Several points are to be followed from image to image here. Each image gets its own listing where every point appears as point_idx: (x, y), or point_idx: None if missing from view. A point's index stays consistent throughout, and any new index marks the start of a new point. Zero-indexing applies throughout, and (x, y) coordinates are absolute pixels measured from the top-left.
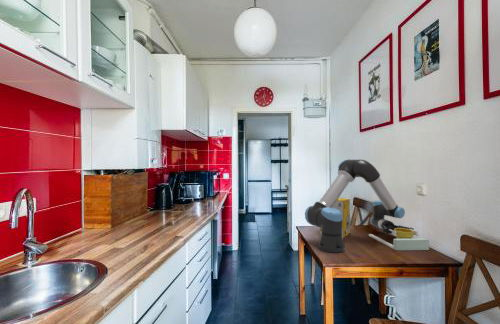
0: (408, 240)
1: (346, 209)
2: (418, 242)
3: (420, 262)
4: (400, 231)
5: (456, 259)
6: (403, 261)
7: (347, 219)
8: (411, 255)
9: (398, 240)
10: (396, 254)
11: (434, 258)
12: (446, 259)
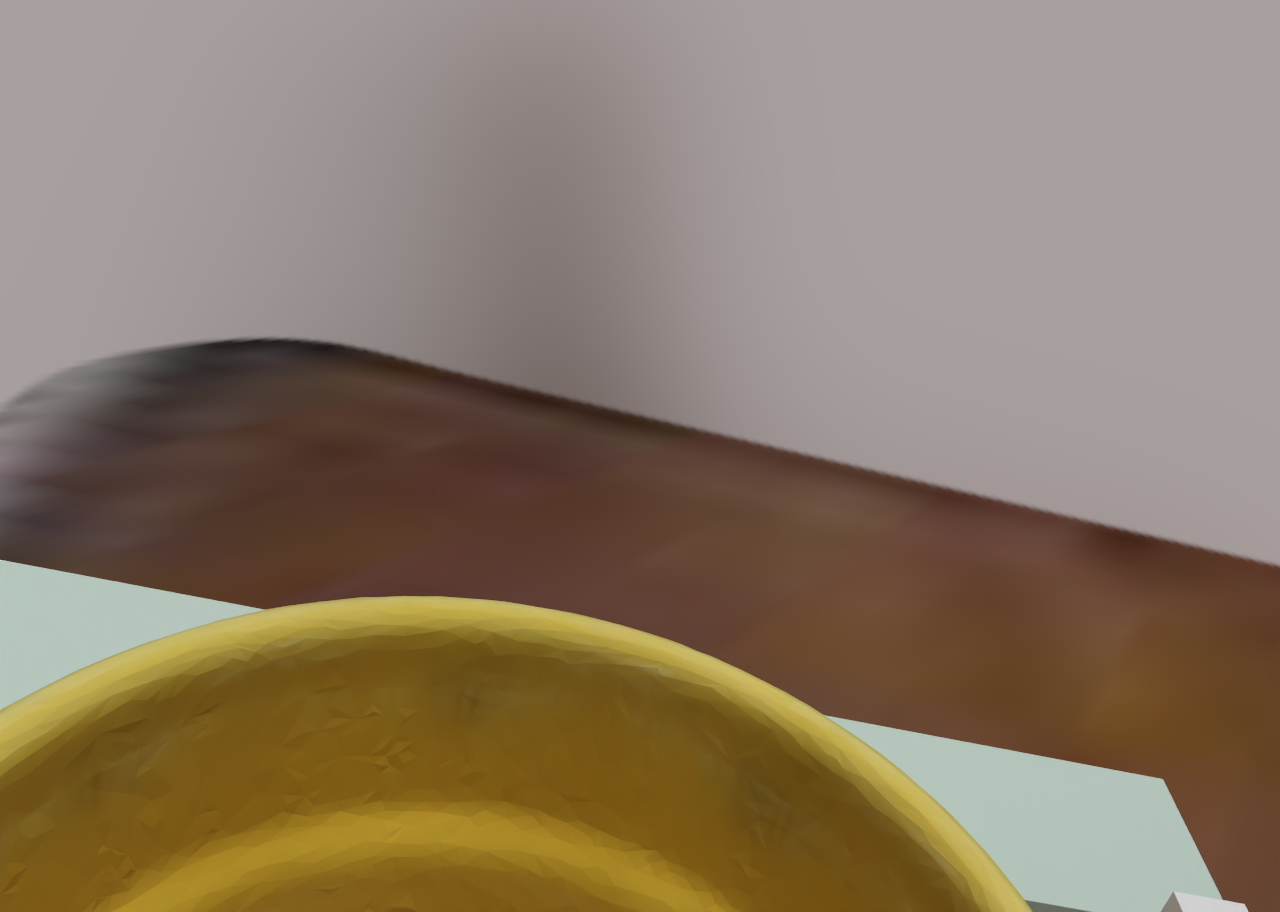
0: None
1: None
2: None
3: (845, 487)
4: (940, 805)
5: (86, 382)
6: (1100, 568)
7: None
8: (803, 684)
9: (1084, 775)
10: None
11: (454, 497)
12: (277, 426)
